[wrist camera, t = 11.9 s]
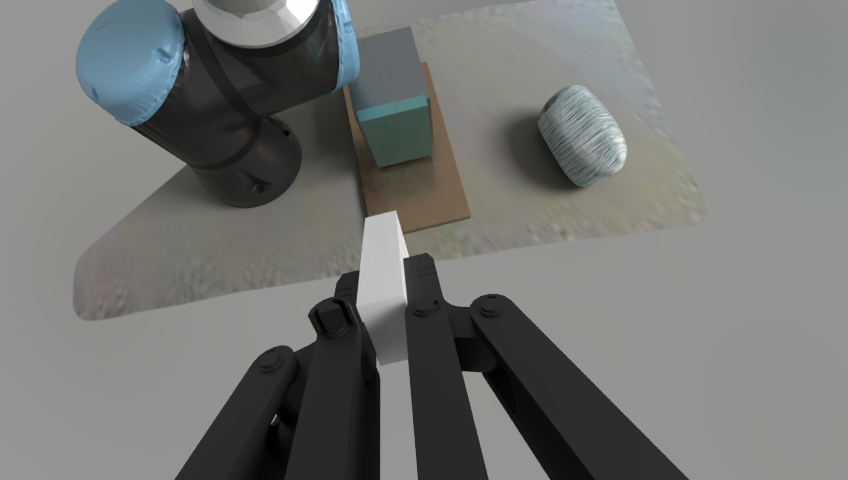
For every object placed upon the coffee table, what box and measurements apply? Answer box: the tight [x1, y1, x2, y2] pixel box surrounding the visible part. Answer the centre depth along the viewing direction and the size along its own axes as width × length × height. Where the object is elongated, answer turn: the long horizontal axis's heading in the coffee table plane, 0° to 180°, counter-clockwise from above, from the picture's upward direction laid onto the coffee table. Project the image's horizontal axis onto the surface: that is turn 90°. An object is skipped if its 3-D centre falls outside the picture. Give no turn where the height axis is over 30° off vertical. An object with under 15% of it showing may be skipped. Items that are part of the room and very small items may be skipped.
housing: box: [343, 27, 471, 234], centre depth 48 cm, size 27×14×9 cm, turn 13°
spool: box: [537, 85, 627, 187], centre depth 46 cm, size 14×10×10 cm
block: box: [357, 95, 433, 168], centre depth 46 cm, size 14×8×11 cm, turn 13°
